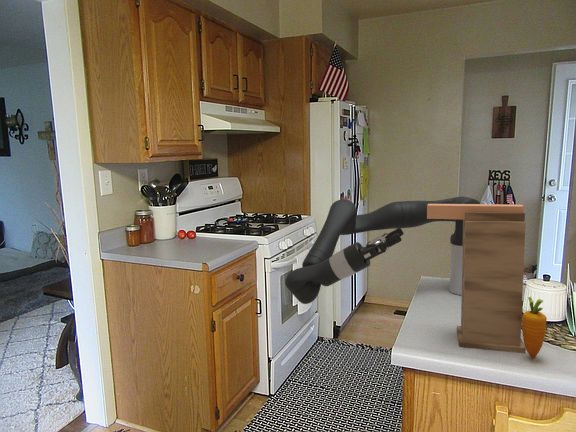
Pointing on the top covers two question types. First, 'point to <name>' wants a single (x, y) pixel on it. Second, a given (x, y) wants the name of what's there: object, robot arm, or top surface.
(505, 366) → the top surface
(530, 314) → the carrot
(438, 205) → the bar
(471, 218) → the stand
